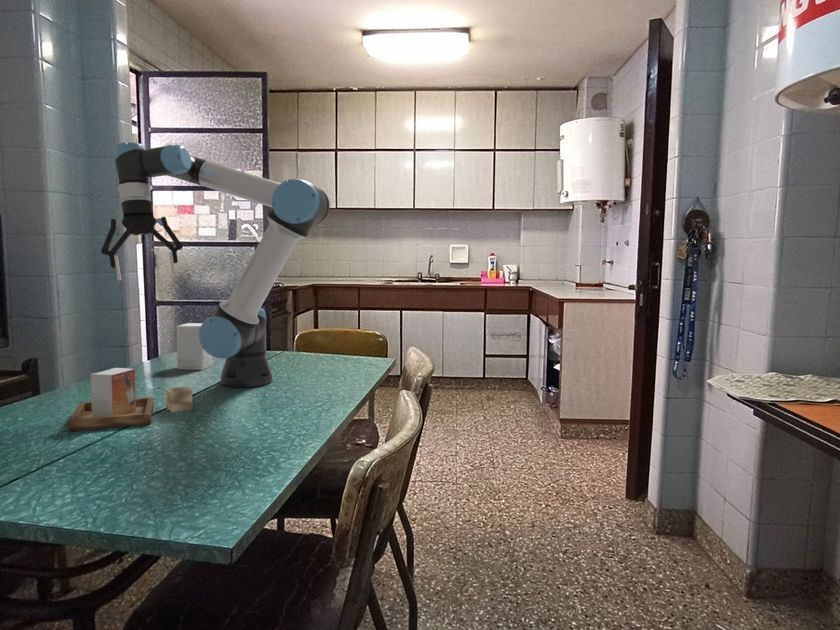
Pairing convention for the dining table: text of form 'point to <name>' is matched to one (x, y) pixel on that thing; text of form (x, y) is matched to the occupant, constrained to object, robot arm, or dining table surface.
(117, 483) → the dining table surface
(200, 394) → the dining table surface
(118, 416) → the tray
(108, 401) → the small box
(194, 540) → the dining table surface
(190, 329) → the supplement box
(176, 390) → the beech block
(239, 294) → the robot arm
